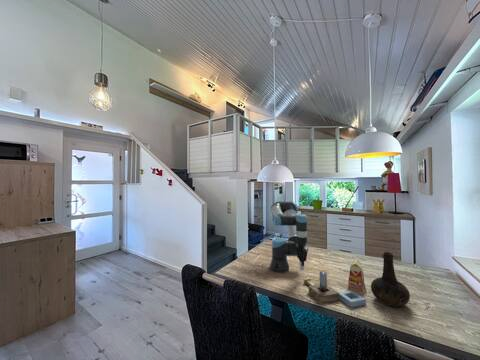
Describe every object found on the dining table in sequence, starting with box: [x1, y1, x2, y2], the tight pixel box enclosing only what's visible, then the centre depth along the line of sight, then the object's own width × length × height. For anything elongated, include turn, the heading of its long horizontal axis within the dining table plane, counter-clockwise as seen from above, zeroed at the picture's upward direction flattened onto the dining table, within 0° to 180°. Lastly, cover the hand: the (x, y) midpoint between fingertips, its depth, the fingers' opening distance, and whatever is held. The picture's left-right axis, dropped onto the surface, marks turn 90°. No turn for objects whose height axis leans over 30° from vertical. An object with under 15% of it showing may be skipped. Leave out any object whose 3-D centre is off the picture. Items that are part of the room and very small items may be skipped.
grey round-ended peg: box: [319, 270, 328, 292], centre depth 123 cm, size 4×4×14 cm
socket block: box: [308, 283, 340, 304], centre depth 123 cm, size 12×12×4 cm
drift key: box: [303, 277, 316, 287], centre depth 135 cm, size 9×4×3 cm, turn 16°
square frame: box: [338, 290, 367, 308], centre depth 118 cm, size 10×10×3 cm
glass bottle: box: [370, 251, 411, 308], centre depth 116 cm, size 18×18×28 cm
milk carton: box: [347, 257, 367, 295], centre depth 130 cm, size 9×9×20 cm
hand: (301, 269), depth 145 cm, fingers closed
